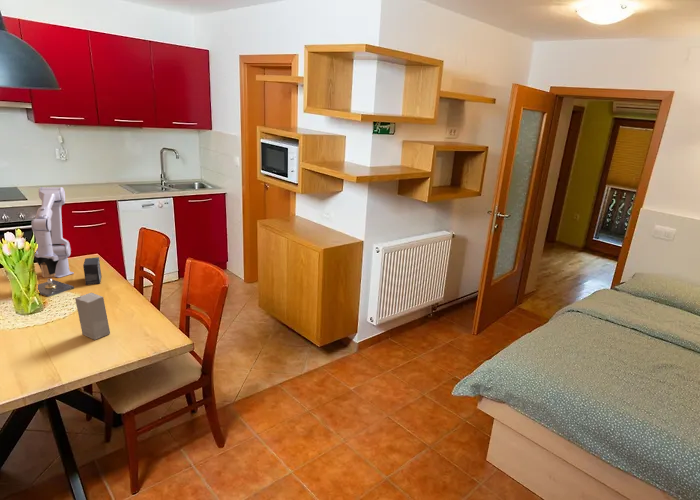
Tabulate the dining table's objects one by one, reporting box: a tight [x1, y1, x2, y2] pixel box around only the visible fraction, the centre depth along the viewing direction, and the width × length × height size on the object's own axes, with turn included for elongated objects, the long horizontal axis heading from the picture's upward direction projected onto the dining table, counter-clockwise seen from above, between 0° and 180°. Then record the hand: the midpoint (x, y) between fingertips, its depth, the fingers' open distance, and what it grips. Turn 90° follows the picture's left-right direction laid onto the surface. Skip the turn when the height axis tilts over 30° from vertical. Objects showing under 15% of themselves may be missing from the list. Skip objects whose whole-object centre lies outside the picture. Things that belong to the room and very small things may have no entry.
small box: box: [82, 257, 103, 286], centre depth 217 cm, size 11×6×10 cm, turn 25°
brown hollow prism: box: [40, 262, 55, 278], centre depth 203 cm, size 5×5×6 cm
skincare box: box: [74, 292, 111, 341], centre depth 166 cm, size 8×7×16 cm
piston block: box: [37, 277, 75, 298], centre depth 205 cm, size 15×12×5 cm
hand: (48, 272), depth 203 cm, fingers closed on brown hollow prism, 5 cm apart
